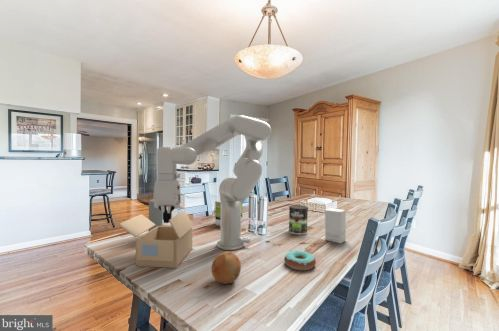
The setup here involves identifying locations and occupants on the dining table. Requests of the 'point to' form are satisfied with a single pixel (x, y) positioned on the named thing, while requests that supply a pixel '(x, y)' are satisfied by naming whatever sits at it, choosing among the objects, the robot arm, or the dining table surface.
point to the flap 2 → (181, 224)
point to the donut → (300, 260)
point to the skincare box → (335, 225)
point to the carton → (162, 247)
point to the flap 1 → (137, 225)
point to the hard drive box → (158, 215)
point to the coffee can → (298, 219)
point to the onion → (226, 267)
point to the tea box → (218, 212)
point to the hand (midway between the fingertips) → (167, 222)
